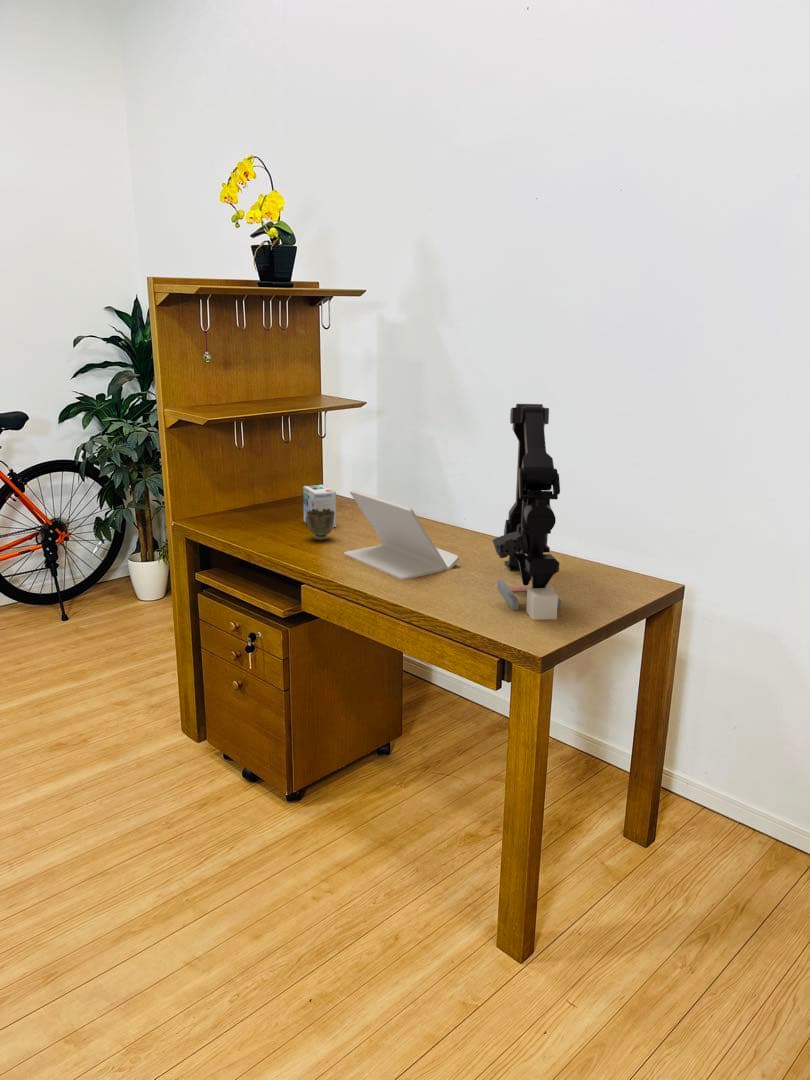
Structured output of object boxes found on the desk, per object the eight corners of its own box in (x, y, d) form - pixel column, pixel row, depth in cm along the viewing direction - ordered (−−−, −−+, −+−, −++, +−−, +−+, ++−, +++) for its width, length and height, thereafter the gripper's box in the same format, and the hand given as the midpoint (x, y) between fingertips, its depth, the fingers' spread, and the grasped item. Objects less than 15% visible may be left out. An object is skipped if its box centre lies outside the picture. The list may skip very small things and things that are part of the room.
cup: (335, 536, 226) (335, 507, 223) (334, 543, 219) (333, 514, 216) (308, 536, 225) (307, 507, 223) (306, 543, 218) (305, 514, 216)
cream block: (526, 611, 172) (527, 588, 170) (549, 610, 172) (550, 587, 171) (532, 619, 167) (534, 596, 165) (556, 619, 167) (558, 596, 166)
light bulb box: (302, 521, 241) (302, 485, 238) (324, 519, 243) (324, 484, 240) (314, 530, 231) (314, 493, 228) (337, 528, 234) (336, 491, 231)
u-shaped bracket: (497, 588, 185) (497, 579, 185) (542, 586, 187) (542, 578, 186) (512, 609, 172) (512, 601, 172) (560, 608, 173) (561, 599, 173)
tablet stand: (401, 581, 190) (402, 510, 185) (342, 555, 209) (342, 490, 204) (460, 567, 201) (463, 499, 196) (399, 544, 220) (400, 481, 215)
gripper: (487, 511, 181) (484, 578, 185) (507, 534, 163) (504, 608, 167) (537, 510, 182) (533, 577, 186) (562, 533, 164) (557, 606, 168)
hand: (530, 591), depth 177 cm, fingers open, 8 cm apart
